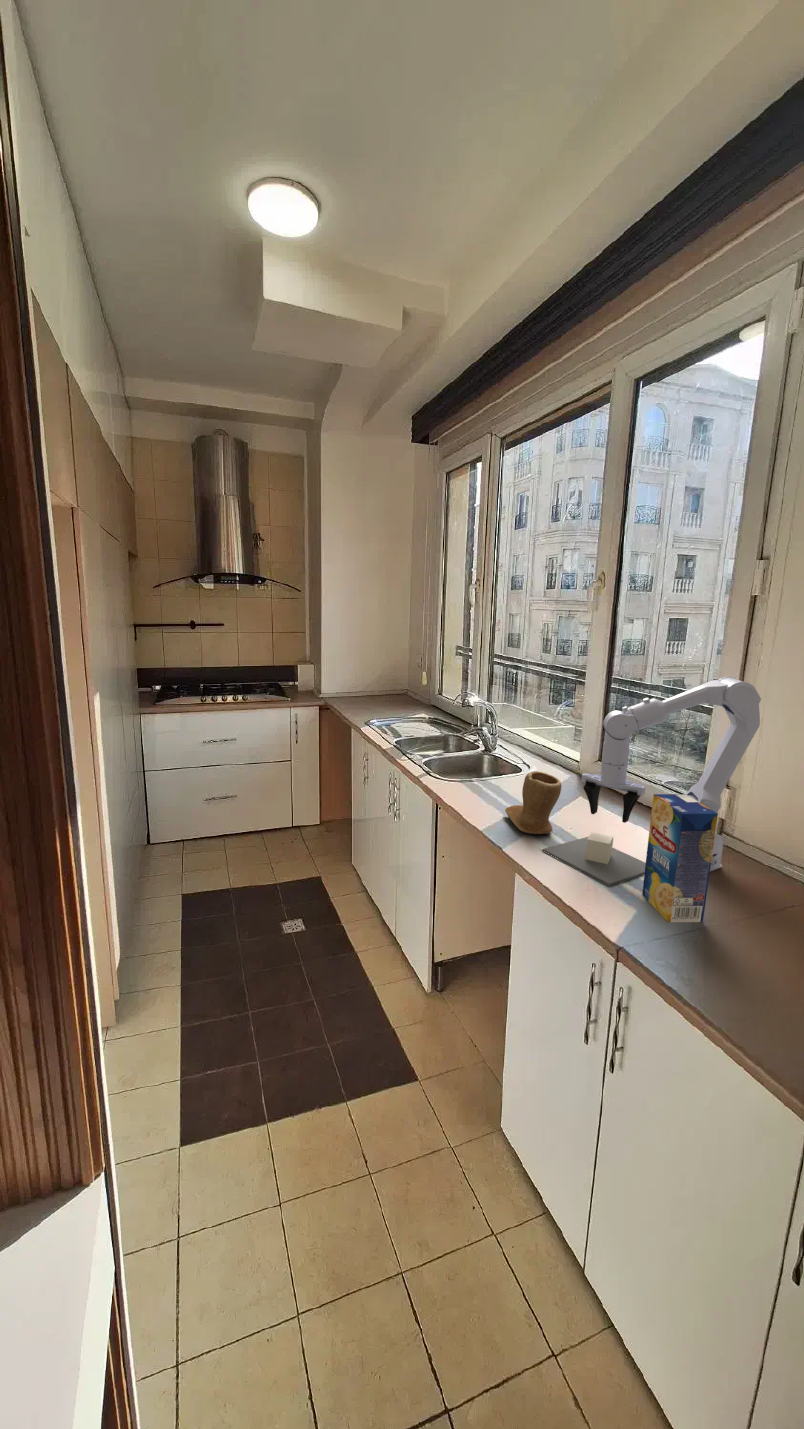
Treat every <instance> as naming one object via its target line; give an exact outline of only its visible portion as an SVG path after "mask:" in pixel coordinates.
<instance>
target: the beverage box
mask: <svg viewBox="0 0 804 1429" xmlns="http://www.w3.org/2000/svg"><path fill="white" fill-rule="evenodd" d="M650 813H651V815H650V824H649V830H648V831H649V832H648V839H647V840H648V841H647V848H646V857H645V863H646V865H645V873H644V875H643V883H642V884H643V885H642V892H641V895H642V897H644V898H645V899H646V900H647V901H648V903H650V905H652V907H653V908H654V909H655V910H656V911H657V912H658V913H659V914H660V915H661V916H662V918H664V920H666V922H668V923H670V924H671V923H703V922H704V917H705V916H704V915H705V909H706V908H705V907H706V903H707V894H708V888H709V881H710V873H711V871H710V867H711V860H712V853H713V846H714V838H715V833H716V831H717V824H718V823H717V822H718V816H719V812H718V813H716V812H714V811H713V810H711V809H709V808H708V807H706V806H705V805H703V804H701V803H700V802H698V801H696V800H695V799H693V798H692V797H690V796H688V795H687V794H686V793H682V794H681V793H680V794H679V793H675V794H673V793H672V794H671V793H669V794H668V793H661V794H660V793H656V794H655V793H654V794H653V797H652V806H651V812H650Z"/></svg>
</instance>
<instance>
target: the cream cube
mask: <svg viewBox="0 0 804 1429" xmlns="http://www.w3.org/2000/svg"><path fill="white" fill-rule="evenodd" d="M587 837H588V839H587V847H586V857H585V859H587V860H591V861H595V862H600V863H604V864H608V862H609V860H610V858H611V856H612V848H613V847H614V846H613V844H614V835H613V836H612V835H608V834H604V833H599V832H593V831H591V833H590V834H589V836H587Z"/></svg>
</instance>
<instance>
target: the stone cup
mask: <svg viewBox="0 0 804 1429" xmlns="http://www.w3.org/2000/svg"><path fill="white" fill-rule="evenodd" d="M523 780H524V781H523V784H522V793H521V795H522V805H510V806H507V807H506V808H505V809H504V811H505V813H506V815H507V816H508V818H509V819H510V821H511V822H512V823H513V825H514V826H516V828H517V829H518V830H520V831H521V833H522V832H523V833H525V834H529V835H530V834H531V835H546V834H550V833H551V832H553V827H552V824H551V822H550V820H549V819H550V815H551V813H552V811H553V809H554V807H555V805H556V803H557V801H559V798H560V796H561V793H562V792H561V791H562V782H561V781H560V779H559V778H557V777H556V776H553V775H551V774H549V773H546V772H542V771H536V770H533V771H530V772H528V773H527V774H526V775H525V777H524V779H523Z"/></svg>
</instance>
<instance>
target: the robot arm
mask: <svg viewBox="0 0 804 1429" xmlns="http://www.w3.org/2000/svg"><path fill="white" fill-rule="evenodd" d="M761 701H762V698H761V695H760V694H759V692H758V691H757V689H756V687H755V686H754V684H751V683H749V682H747V681H742V680H739V679H737V678H736V677H733V676H724V677H720V678H718V679H715V680H714V679H713V680H710V681H708V682H705V683H703V684H700V685H698V686H696V687H693V688H690V689H688V690H686V691H683V692H681V693H679V694H676V695H674V696H671V697H669V698H666V699H664V700H660V699H657V698H651V699H650V698H649V697H645V698H643V699H642V702H639V703H637V704H634V705H632V706H628V707H627V705H626V706H623V707H622V708H621V709H622V710H612V711H610V712H609V713H607V715H606V716H605V717H604V720H603V721H602V726H603V728H604V730H605V731H604V738H603V739H604V740H603V745H602V755H601V765H600V767H601V768H600V774H592V773H587V772H585V773H583V774H582V775H581V783H583V784H584V785H583V790H584V792H585V794H586V797H587V801H588V804H589V809H590V814H591V815H595V814H597V812H598V809H599V799H600V798H599V797H600V793H601V792H600V791H601V787H604V788H607V789H608V788H609V789H614V790H619V791H622V792H626V793H624V794H622V798H623V799H622V800H623V810H622V823H624V824H625V823H627V822H629V819H630V816H631V813H632V812H633V811H632V810H633V809H634V806H636V803H637V802H638V800H639V798H641V797H643V796H644V795H645V794H646V785H643V784H639V783H635V782H633V781H630V780H627V773H628V765H629V764H628V763H629V762H628V761H629V754H630V753H629V752H630V737H631V736H632V735H633V733H634V732H638V731H641V730H643V729H646V728H649V727H650V728H651V727H652V726H654V725H658V724H660V723H663V722H665V720H666V718H667V717H668V715H669V714H673V713H677V712H680V711H683V710H687V709H690V708H692V707H696V706H697V707H698V706H700V705H703V704H708V705H714V706H717V707H718V706H719V707H722V708H723V709H724V711H725V713H726V715H727V717H728V719H729V720H730V724H729V725H728V727H727V729H726V731H725V733H724V734H723V736H722V738H721V740H720V742H719V744H718V746H717V747H716V749H715V751H714V753H713V754H712V757H711V758H710V760H709V762H708V764H707V765H706V767H705V769H704V771H703V772H702V775H701V777H700V778H699V780H698V782H697V783H695V784H693V785H692V786H690V788H689V790H688V791H687V792H686V793H685V794H687V795H688V796H690V797H692V798H693V799H695V800H696V801H698V802H700V803H701V804H703V805H705V806H706V807H708V808H709V809H711V810H713V811H714V812H716V813H718V814H719V811H720V809H721V805H722V804H721V802H722V801H721V800H722V798H721V795H722V793H723V791H724V790H725V788H726V786H727V785H728V783H729V781H730V779H731V777H732V776H733V773H734V772H735V771H736V769H737V766H738V765H739V763H740V762H741V760H742V758H743V756H744V754H745V753H746V752H747V749H748V747H749V746H750V744H751V742H752V740H753V738H754V737H755V734H756V733H757V731H758V729H759V728H760V725H761V717H760V713H761V712H760V704H761ZM723 848H724V839H723V836H721V835H720V834H718V833H716V832H715V838H714V846H713V853H712V860H711V867H710V872H712V871H715V870H718V869H721V868H723V864H722V856H723V850H724V849H723Z"/></svg>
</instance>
